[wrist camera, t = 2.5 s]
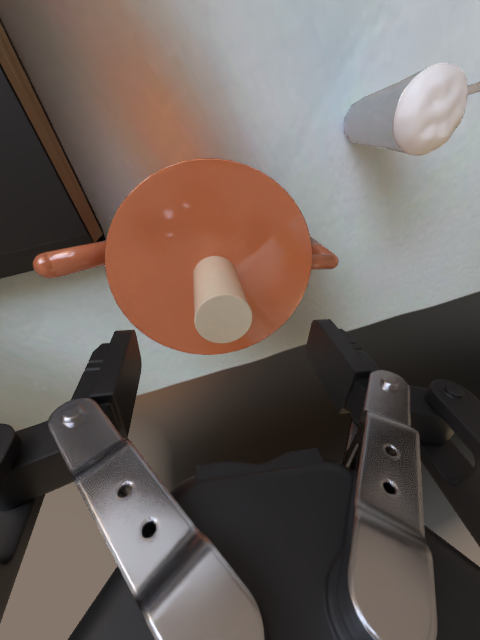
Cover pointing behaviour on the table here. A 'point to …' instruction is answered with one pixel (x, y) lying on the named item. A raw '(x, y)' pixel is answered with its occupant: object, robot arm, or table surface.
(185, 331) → the teapot lid
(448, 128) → the milkshake
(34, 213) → the file folder
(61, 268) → the teapot spout handle
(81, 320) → the table surface
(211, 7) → the table surface
